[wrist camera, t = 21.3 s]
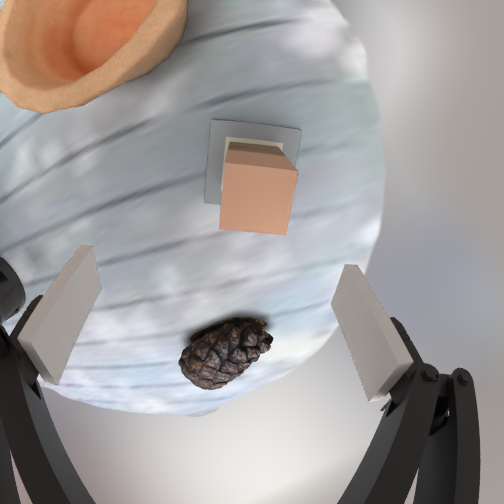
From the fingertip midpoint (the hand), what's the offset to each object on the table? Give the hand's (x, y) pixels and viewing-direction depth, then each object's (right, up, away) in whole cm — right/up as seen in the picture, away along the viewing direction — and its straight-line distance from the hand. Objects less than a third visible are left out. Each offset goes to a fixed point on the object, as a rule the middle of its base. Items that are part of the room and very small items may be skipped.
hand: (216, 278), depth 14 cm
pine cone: (-3, -14, +37) cm, 40 cm away
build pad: (+2, +12, +21) cm, 24 cm away
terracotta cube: (+2, +9, +15) cm, 17 cm away
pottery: (-14, +30, +10) cm, 35 cm away
